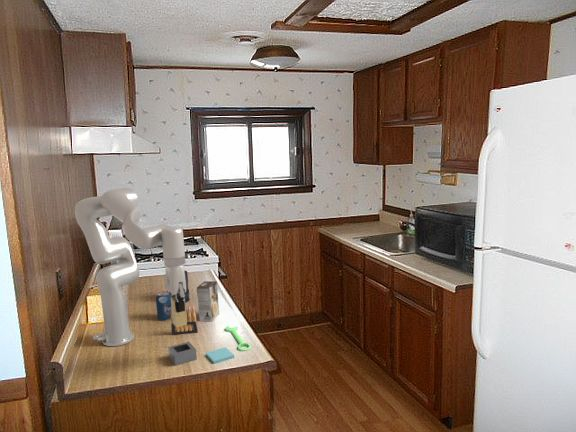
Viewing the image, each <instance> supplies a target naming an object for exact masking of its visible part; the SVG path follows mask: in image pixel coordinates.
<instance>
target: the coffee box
mask: <svg viewBox="0 0 576 432" xmlns="http://www.w3.org/2000/svg"><path fill="white" fill-rule="evenodd" d="M196 293H197V294H196V296H197V303H198V304H197V305H198V316H199V321H200V322H213V321H214V320H215V319H216V318H217V317H218V316H219V315H220V308H219V307H220V306H219V305H220V304H219V294H218V293H219V292H218V282H217V280H216V281H212V280H211V281H207V280H206V281H203V282H202V283H200V284H199V285H198V286H197V287H196Z"/></svg>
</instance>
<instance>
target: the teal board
mask: <svg viewBox="0 0 576 432" xmlns="http://www.w3.org/2000/svg"><path fill="white" fill-rule="evenodd" d="M205 356H206V357H207V358H208V359H209V360H210V362H212V363H213V364H218V363H221V362H225V361H227V360H231V359H235V355H234V353H232V351H231V350H229V349H228V348H227V347H226V346H224V347H221V348H218V349H214V350H212V351H211V350H210V351H208V352H205Z"/></svg>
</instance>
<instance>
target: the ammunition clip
mask: <svg viewBox="0 0 576 432" xmlns="http://www.w3.org/2000/svg"><path fill="white" fill-rule="evenodd" d="M187 306H188V307H187V311H186V319H187V325H184V326H180V327H175V325H174V324H173V318H172V307H171V319H170V322H171V323H170V324H171V325H170V326H171V327H170V328H171V330H170V331H171V336H179V335H189V334H198V324H197V323H198V322H197V315H196V314H197V313H196V310H195V305H194V304H193V305H192V308H191V307H190V305H187Z"/></svg>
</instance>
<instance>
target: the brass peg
mask: <svg viewBox="0 0 576 432" xmlns="http://www.w3.org/2000/svg"><path fill="white" fill-rule="evenodd" d="M184 301H185V298H184ZM175 302H176V297H173V298H171V307H172V318H173V324H174V325H175V327H180V326H184V325H187V319H186V312H187V308H186V306H185V311H182V312H178V313H177V312H176V304H175Z"/></svg>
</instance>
